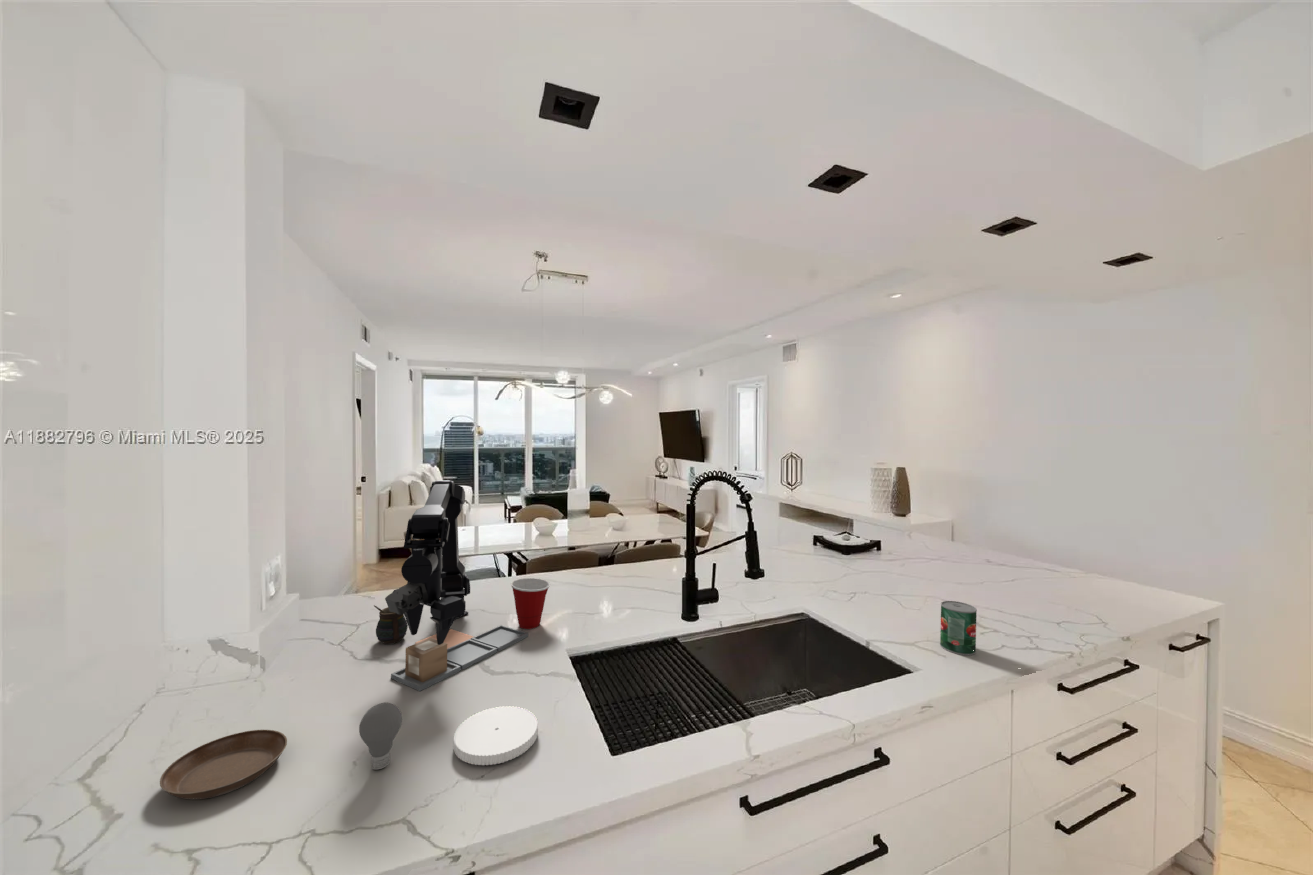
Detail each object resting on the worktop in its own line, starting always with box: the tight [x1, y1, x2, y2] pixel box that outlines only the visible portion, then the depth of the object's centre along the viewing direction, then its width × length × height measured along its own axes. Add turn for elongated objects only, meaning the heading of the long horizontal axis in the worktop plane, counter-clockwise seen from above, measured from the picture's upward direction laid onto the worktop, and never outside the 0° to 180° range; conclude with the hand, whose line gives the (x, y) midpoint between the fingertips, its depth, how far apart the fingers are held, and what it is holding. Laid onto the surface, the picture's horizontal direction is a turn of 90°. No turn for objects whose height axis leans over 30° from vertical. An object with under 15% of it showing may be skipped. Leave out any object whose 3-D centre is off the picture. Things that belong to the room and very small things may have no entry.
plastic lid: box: [452, 705, 539, 766], centre depth 84 cm, size 14×14×2 cm
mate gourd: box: [373, 604, 409, 645], centre depth 122 cm, size 7×8×10 cm
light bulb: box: [358, 701, 403, 770], centre depth 77 cm, size 6×6×10 cm
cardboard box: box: [404, 638, 447, 682], centre depth 106 cm, size 6×6×6 cm
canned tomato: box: [939, 600, 978, 656], centre depth 124 cm, size 8×8×11 cm
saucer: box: [159, 729, 288, 800], centre depth 75 cm, size 15×15×3 cm
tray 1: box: [390, 661, 462, 692], centre depth 106 cm, size 10×10×1 cm
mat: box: [414, 628, 474, 649], centre depth 123 cm, size 10×10×1 cm
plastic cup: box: [510, 577, 552, 630], centre depth 134 cm, size 11×11×12 cm
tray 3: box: [471, 624, 529, 652], centre depth 124 cm, size 10×10×1 cm
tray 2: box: [447, 639, 498, 671], centre depth 115 cm, size 10×10×1 cm
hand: (426, 639), depth 106 cm, fingers open, 9 cm apart
